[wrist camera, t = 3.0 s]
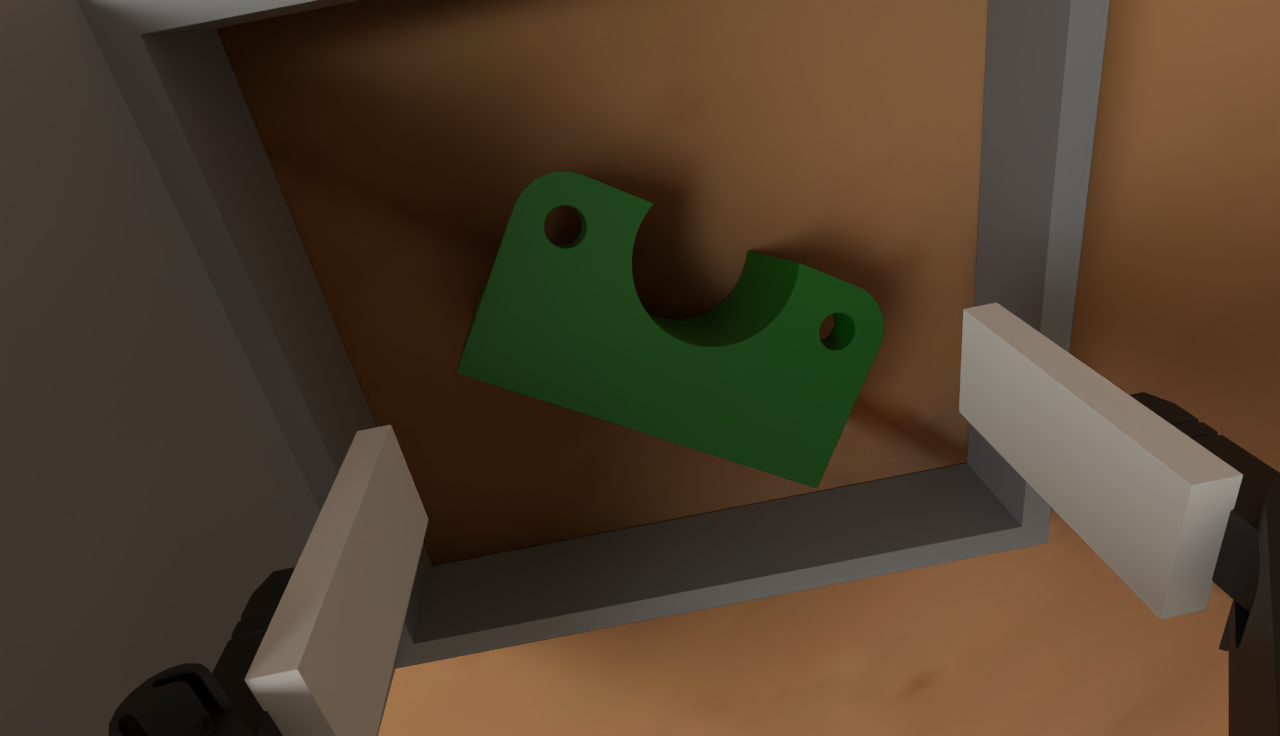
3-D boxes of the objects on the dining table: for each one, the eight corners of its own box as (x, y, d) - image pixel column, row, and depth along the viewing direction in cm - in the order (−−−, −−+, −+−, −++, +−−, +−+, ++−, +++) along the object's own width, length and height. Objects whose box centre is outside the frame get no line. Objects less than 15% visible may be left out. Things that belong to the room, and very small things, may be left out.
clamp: (741, 253, 29) (931, 318, 22) (686, 390, 30) (851, 493, 23) (468, 137, 22) (620, 177, 15) (407, 322, 23) (523, 442, 16)
